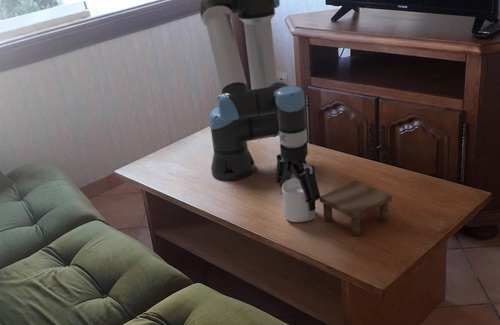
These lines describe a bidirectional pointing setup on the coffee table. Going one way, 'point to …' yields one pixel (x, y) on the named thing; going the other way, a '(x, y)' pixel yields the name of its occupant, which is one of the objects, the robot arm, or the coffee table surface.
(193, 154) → the coffee table surface
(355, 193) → the footstool
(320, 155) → the coffee table surface
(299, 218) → the cup
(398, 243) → the coffee table surface
